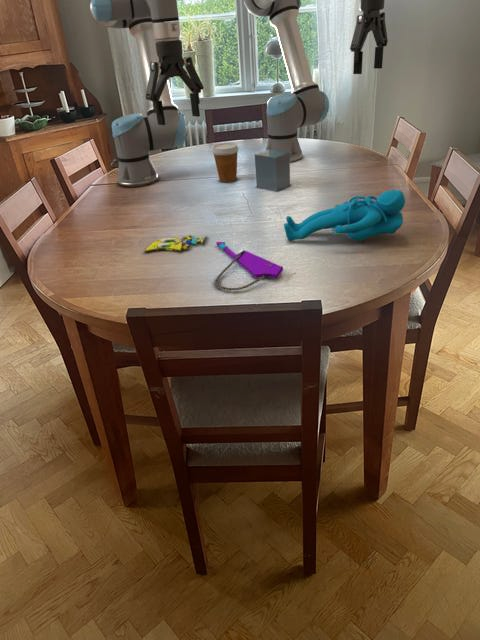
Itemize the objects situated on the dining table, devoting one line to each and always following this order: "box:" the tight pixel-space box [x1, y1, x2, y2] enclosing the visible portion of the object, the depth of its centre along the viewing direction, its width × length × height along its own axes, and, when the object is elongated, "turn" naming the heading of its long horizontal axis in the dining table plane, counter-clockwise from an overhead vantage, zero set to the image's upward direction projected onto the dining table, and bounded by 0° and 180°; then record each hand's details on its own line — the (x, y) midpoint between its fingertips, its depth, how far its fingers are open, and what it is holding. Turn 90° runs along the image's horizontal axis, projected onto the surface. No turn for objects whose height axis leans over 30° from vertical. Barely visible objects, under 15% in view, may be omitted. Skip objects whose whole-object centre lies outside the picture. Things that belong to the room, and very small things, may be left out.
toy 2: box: [283, 189, 406, 243], centre depth 123 cm, size 17×11×30 cm
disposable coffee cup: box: [211, 142, 239, 183], centre depth 173 cm, size 10×10×12 cm
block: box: [254, 149, 291, 192], centre depth 163 cm, size 7×9×11 cm
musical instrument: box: [214, 241, 284, 291], centre depth 115 cm, size 24×2×20 cm
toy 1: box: [144, 234, 207, 254], centre depth 130 cm, size 10×1×15 cm
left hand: (179, 120), depth 146 cm, fingers open, 13 cm apart
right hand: (367, 71), depth 162 cm, fingers open, 13 cm apart
